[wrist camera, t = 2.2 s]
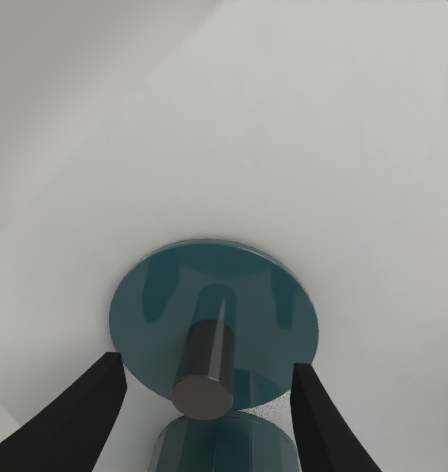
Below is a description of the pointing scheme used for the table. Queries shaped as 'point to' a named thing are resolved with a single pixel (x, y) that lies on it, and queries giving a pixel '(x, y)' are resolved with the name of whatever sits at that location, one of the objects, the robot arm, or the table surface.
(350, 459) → the robot arm
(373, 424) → the table surface
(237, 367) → the tin lid
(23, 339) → the table surface
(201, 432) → the tin
